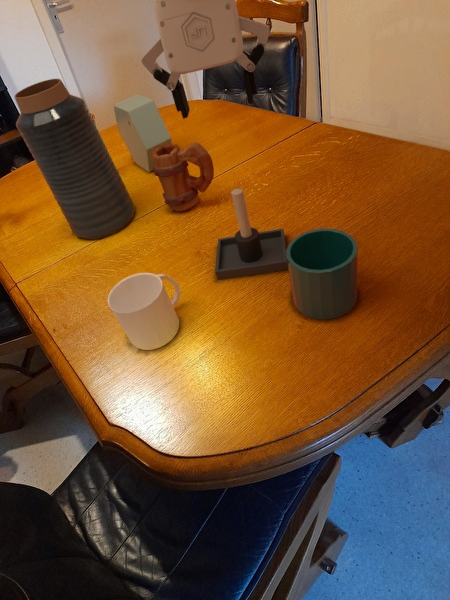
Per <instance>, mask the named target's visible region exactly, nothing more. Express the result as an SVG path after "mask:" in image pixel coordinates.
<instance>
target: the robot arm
mask: <svg viewBox="0 0 450 600" xmlns="http://www.w3.org/2000/svg"><path fill="white" fill-rule="evenodd" d="M152 1H153V8H154V14H155V19H156V23H157V28H158V32H159V36H160V38H159V39H158V40H157V42H156V43H154V44H153V46H152V47H150V49H149V50H148V51H147V52H146V53H145V55H144V56H143V57H142V59H141V64H142V65H143V67H145V69H147V71H148V72H149V73H150V74H151V75H152V76H153V78H154V79H155V80H156V81H157V82H159V83H160V84H162V85H163V86H165V87H166V88H167V89H168V91H170V92H171V95H172V99H173V102H174V105H175V108H176V111H177V112H180V113H181V116H182V119H183V120H184V119H187V118H188V117H189V114H190V111H191V110H190V105H189V102H188V98H187V94H186V91H185V87H184V84H183V83H182V82H181V81H180V76H181V75H185V74H191V73H195V72H199V71H203V70H207V69H211V68H215V67H219V66H224V65H227V64H231V63H235V62H236V63H238V65H240V66H241V67H242V68H243V69H242V70H243V75H242V76H243V82H244V87H245V93H246V98H247V103H248V104H249V105H253V104H254V96H255V95H258V87H257V81H256V74H255V69H256V66H257V65H258V63H259V62H260V60H261V58H262V57H263V55H264V54H265V50H266V46H267V43H268V40H269V36H270V33H271V31H270V25H268V24H265V23H262V22H259V21H257V20H253V19H250V18H249V17H248V18H247V17H244V16H242V15H239V11H238V6H237V3H236V0H152ZM243 32H246V33H248V34H251V35H255V36H256V37H257V39H256V42H255V45H254V47H253V49H252V50H251V52H250V53H249V52H248V51H247V50H246V49H245V48H244V41H243ZM162 54H163V55H164V58H165V62H166V64H167V68H168V70H169V71H170V72H168V71H167V70H165V69H164V68H162V67H161V66H160V65H159V64H158V62H157V59H158V58H159V57H160V56H161V55H162Z"/></svg>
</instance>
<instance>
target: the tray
mask: <svg viewBox="0 0 450 600" xmlns="http://www.w3.org/2000/svg"><path fill="white" fill-rule="evenodd" d="M258 233H259V238H260V243H261V248H262V253H263V255H262V257H261V258H260V259H259V260H258V261H256V262H252V263H246V262H243V261H242V260H241V259H240V255H239V251H238V248H237V244H236V240H235V235H234V236H227V237H221V238H217V247H216V257H215V266H214V272H215V277H216V280H217V281H218V280H226V279H233V278H241V277H247V276H255V275H262V274H268V273H269V274H270V273H275V272H283V271H289V269H288V262H287V255H286V250H287V245H286V236H285V229H284V228H277V229H270V230H265V231H258Z"/></svg>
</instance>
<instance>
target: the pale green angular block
mask: <svg viewBox="0 0 450 600" xmlns="http://www.w3.org/2000/svg"><path fill="white" fill-rule="evenodd" d="M112 107H113V111H114V117H115V121H116V126H117V132H119V135H120V137H121V139H122V141H123V142H124V145H125V146H126V148H127V150H128V152H129V154H130V156H131V158H132V160H133V162H134V163H135V165H137V166H138V167H140V168H142V170H145V171H146V172H148V173H151V172H153V171H154V168H153V165H154V161H153V158H152V152H153V151H154V150H155V149H156V148H158V147H160V146H163V147H164V146H166V145H169V144H173V143H172V136H171V134H170V132H169V130H168V127H167V125H166V124H165V122H164V119H163V117H162V115H161V113H160V111H159V109H158V107H157V105H156V102H155V100H154V99H152V98H150V97H146V96H144V95H141V94H135V95H133V96H130V97H128V98H126V99H124V100H122V101H119V102H117V103H115V104H113V106H112Z"/></svg>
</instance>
